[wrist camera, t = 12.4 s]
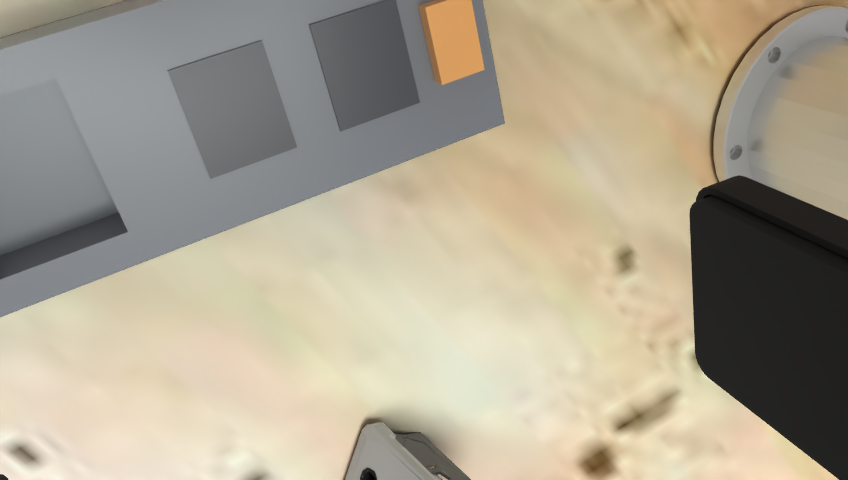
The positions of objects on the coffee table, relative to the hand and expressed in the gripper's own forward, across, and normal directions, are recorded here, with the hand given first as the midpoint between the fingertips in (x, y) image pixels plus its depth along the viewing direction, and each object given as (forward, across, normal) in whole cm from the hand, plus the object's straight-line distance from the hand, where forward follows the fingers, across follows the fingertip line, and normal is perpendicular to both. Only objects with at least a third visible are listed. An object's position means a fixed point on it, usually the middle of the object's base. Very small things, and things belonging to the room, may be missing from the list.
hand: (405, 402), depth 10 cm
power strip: (+24, +2, +2) cm, 25 cm away
